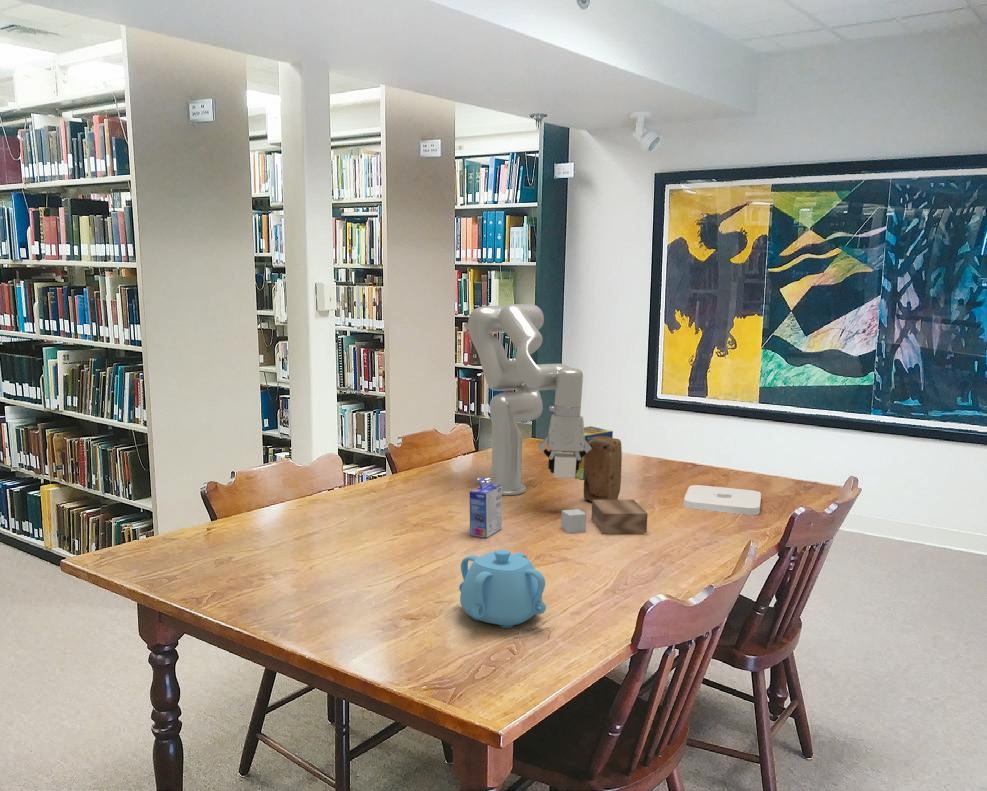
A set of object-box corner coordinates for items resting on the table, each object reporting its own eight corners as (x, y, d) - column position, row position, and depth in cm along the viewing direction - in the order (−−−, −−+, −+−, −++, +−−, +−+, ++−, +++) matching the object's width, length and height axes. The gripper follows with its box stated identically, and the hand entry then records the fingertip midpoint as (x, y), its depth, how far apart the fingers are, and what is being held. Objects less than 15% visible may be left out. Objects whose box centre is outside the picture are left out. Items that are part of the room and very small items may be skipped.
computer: (759, 517, 239) (759, 508, 239) (682, 509, 246) (682, 500, 246) (760, 499, 260) (761, 491, 260) (689, 492, 267) (690, 484, 267)
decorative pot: (463, 635, 156) (464, 566, 154) (457, 601, 172) (458, 538, 170) (547, 632, 158) (549, 565, 156) (534, 599, 174) (536, 537, 172)
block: (622, 502, 251) (625, 438, 248) (609, 507, 245) (612, 442, 242) (592, 496, 258) (594, 433, 255) (578, 501, 252) (581, 437, 249)
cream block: (554, 477, 235) (555, 457, 234) (551, 471, 241) (552, 452, 240) (574, 478, 235) (576, 458, 234) (571, 472, 241) (573, 452, 240)
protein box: (560, 474, 286) (561, 430, 284) (589, 468, 296) (590, 426, 294) (582, 480, 278) (584, 435, 276) (611, 473, 289) (613, 430, 286)
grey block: (568, 533, 220) (569, 515, 219) (561, 528, 225) (561, 510, 224) (585, 532, 221) (586, 514, 221) (577, 526, 226) (578, 509, 225)
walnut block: (602, 535, 219) (603, 513, 219) (591, 520, 233) (592, 499, 232) (646, 535, 221) (647, 513, 220) (632, 519, 234) (633, 499, 234)
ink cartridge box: (484, 525, 225) (485, 474, 223) (502, 528, 223) (503, 476, 221) (467, 535, 216) (468, 481, 214) (486, 538, 214) (488, 484, 212)
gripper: (538, 413, 230) (535, 474, 234) (599, 415, 232) (595, 476, 235) (535, 407, 238) (532, 467, 241) (594, 409, 239) (590, 469, 242)
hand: (563, 471), depth 238 cm, fingers closed on cream block, 6 cm apart
